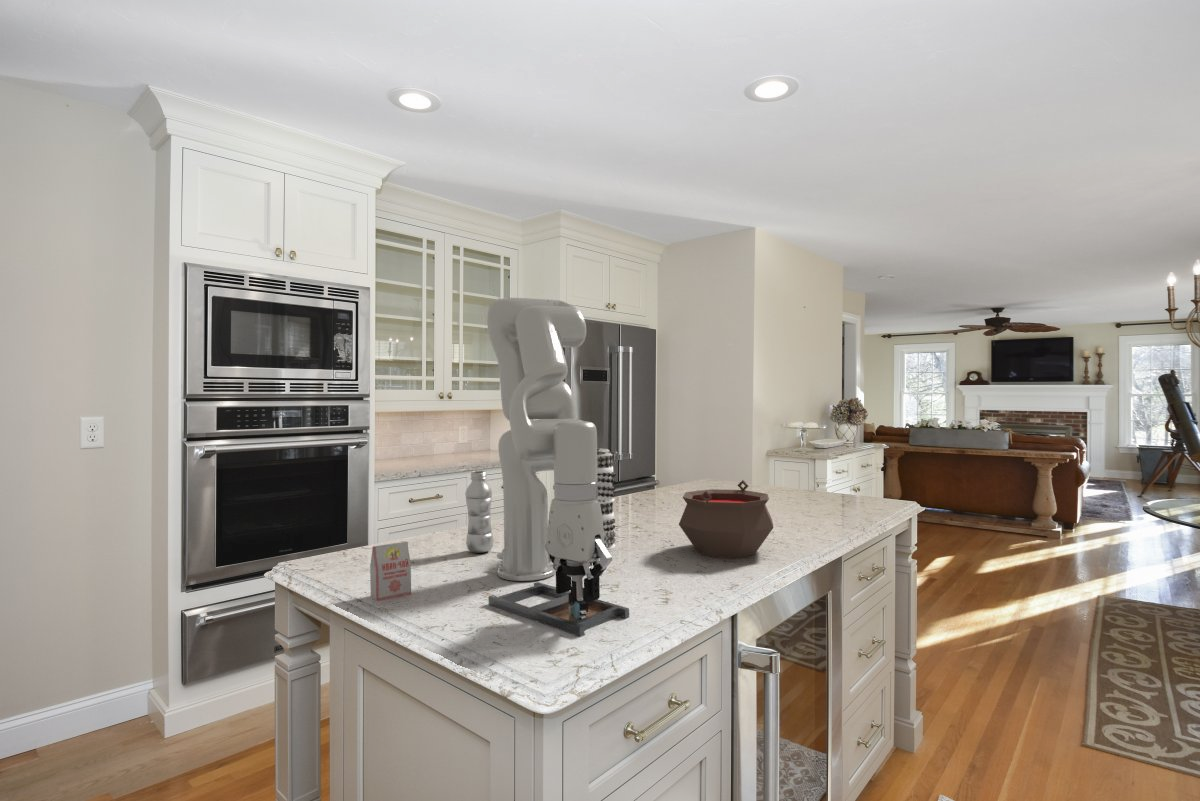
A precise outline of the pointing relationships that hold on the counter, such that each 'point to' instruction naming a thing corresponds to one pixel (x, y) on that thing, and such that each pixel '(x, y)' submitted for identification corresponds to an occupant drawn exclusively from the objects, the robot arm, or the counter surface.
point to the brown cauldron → (726, 521)
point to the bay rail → (558, 609)
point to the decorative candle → (606, 494)
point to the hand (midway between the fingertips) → (577, 595)
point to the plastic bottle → (479, 514)
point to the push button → (576, 588)
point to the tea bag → (390, 571)
